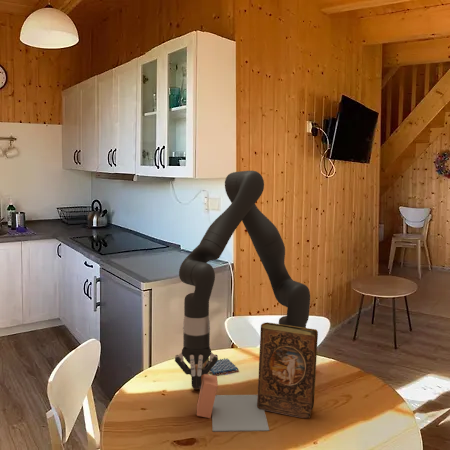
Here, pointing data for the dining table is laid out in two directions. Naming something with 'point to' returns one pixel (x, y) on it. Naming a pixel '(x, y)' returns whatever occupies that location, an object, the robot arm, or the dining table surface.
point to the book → (287, 369)
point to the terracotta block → (207, 396)
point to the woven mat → (223, 367)
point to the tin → (202, 375)
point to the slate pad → (238, 414)
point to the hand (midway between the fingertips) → (196, 386)
